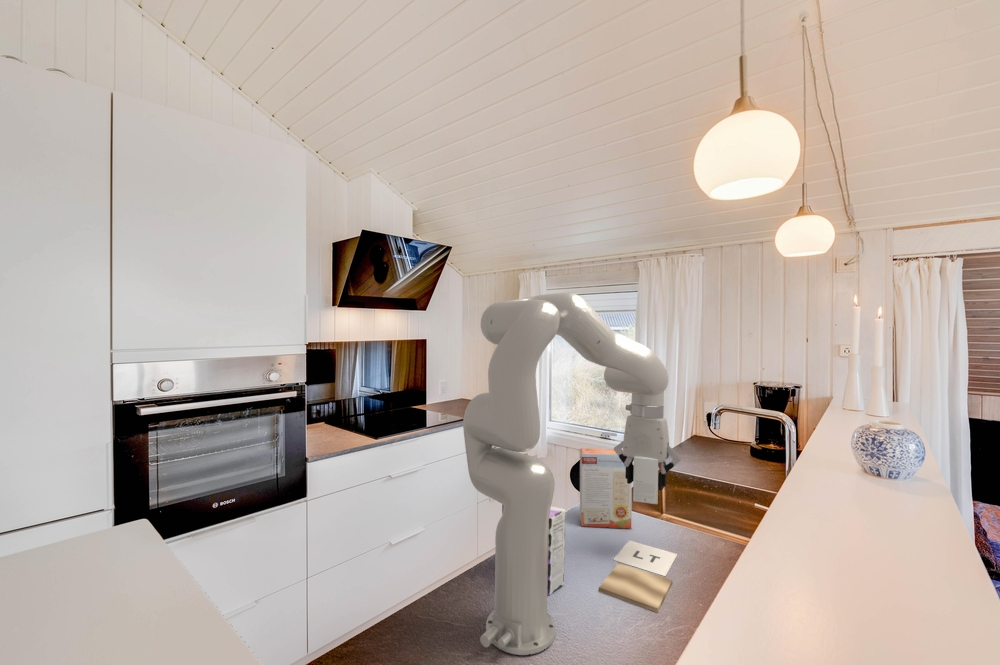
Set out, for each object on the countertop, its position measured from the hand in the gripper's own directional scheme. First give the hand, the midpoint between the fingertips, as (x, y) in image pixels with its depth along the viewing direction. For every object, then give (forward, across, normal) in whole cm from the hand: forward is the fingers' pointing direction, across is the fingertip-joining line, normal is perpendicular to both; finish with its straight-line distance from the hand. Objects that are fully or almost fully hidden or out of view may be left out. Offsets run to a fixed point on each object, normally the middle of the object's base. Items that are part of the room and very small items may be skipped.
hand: (645, 485), depth 104 cm
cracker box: (+18, -15, +13) cm, 26 cm away
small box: (+3, 0, 0) cm, 3 cm away
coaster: (+18, +2, -13) cm, 22 cm away
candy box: (+19, -18, -23) cm, 35 cm away
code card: (+18, 0, +1) cm, 18 cm away
